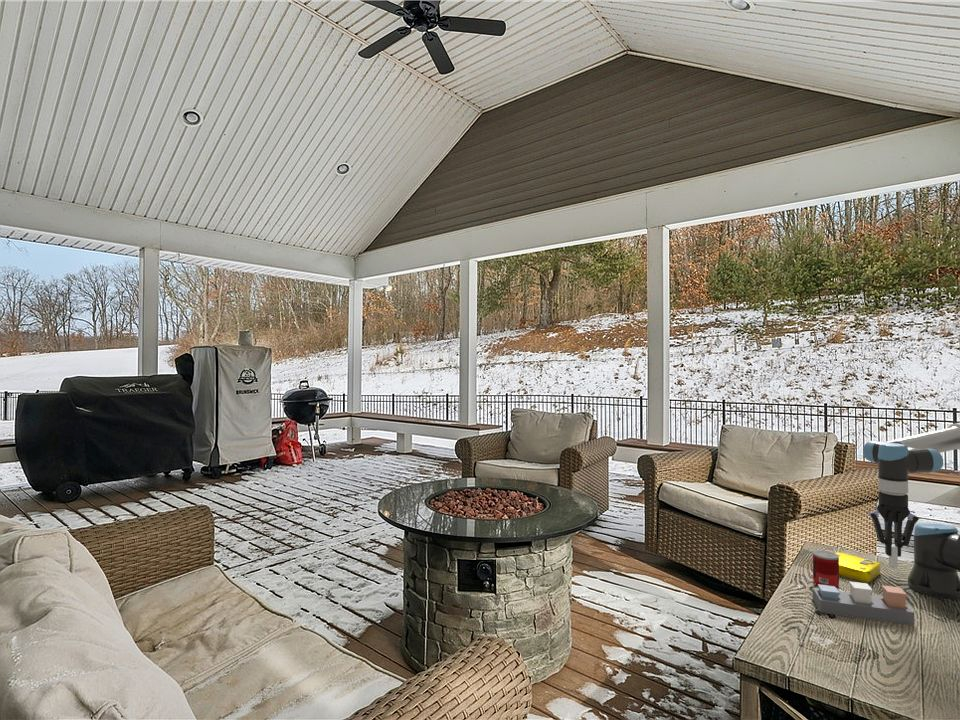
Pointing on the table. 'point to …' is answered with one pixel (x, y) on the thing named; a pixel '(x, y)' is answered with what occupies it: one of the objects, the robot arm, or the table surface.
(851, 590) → the white key
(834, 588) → the slate blue key
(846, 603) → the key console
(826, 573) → the canned food
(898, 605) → the terracotta key
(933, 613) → the table surface
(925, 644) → the table surface
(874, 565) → the element tile
